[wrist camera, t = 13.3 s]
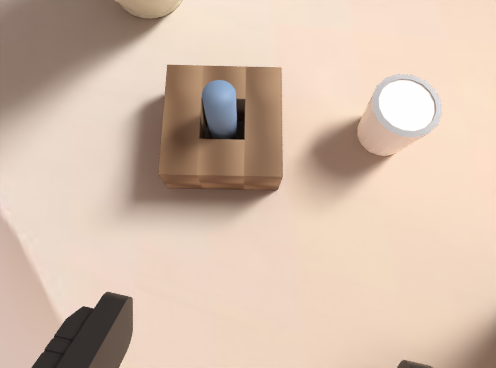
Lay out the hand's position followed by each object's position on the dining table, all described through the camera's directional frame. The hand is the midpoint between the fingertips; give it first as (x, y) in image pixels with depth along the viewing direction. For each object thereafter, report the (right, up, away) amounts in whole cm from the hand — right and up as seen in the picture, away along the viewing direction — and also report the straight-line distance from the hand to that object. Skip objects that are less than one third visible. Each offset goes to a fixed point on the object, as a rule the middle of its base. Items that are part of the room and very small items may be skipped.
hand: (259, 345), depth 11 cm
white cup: (+15, +11, +32) cm, 37 cm away
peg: (-3, +10, +31) cm, 33 cm away
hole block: (-3, +10, +31) cm, 33 cm away
